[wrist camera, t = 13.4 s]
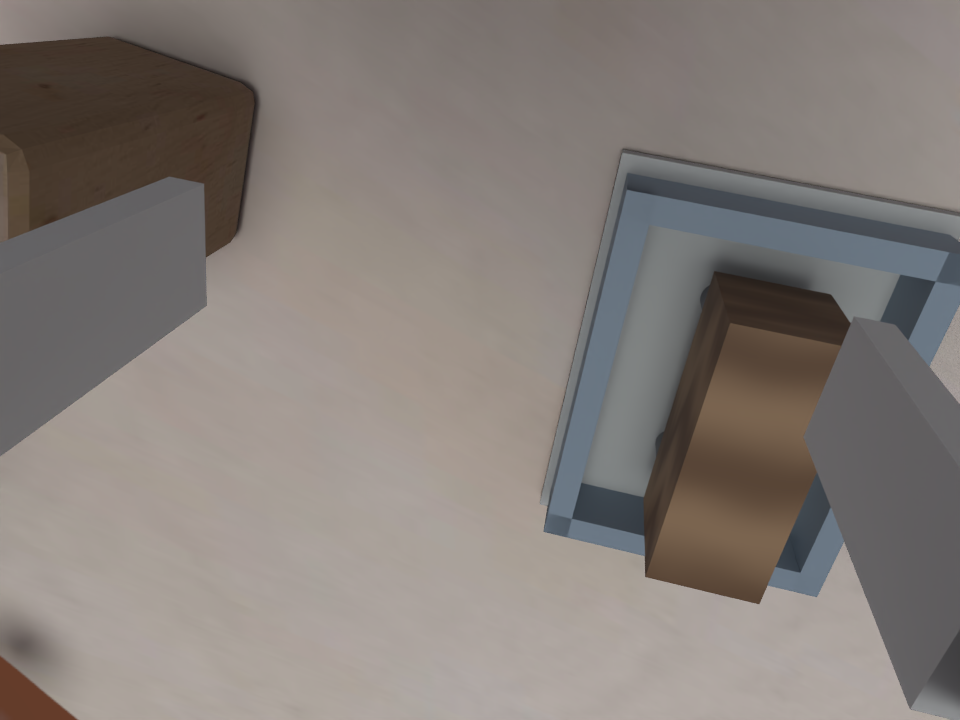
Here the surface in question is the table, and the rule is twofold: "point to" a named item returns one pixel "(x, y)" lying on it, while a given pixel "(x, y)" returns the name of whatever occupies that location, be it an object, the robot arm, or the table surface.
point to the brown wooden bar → (740, 436)
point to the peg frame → (676, 312)
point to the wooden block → (115, 131)
